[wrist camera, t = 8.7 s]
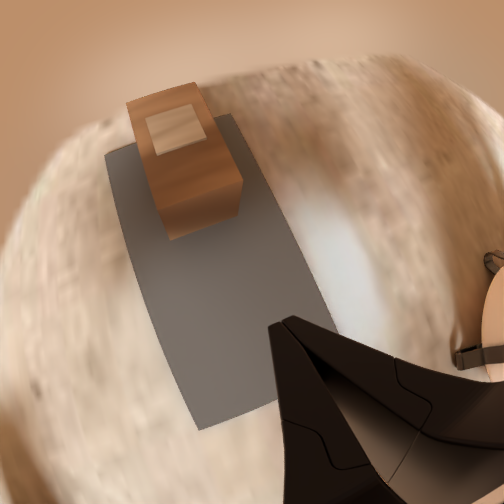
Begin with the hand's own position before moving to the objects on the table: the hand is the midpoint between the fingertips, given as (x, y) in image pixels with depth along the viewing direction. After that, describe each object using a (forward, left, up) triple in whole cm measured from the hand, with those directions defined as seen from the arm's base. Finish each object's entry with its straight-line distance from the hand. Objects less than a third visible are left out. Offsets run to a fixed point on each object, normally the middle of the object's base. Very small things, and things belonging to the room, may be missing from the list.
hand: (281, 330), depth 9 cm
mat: (+3, -5, -10) cm, 11 cm away
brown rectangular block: (+4, -6, -7) cm, 10 cm away
